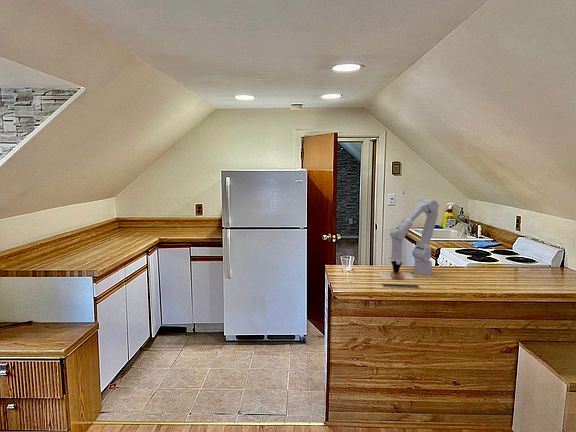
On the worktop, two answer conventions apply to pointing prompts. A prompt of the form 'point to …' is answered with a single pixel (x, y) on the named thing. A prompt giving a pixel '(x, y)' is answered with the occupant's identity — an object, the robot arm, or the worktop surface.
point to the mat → (401, 286)
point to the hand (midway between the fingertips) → (395, 274)
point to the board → (388, 275)
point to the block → (397, 276)
